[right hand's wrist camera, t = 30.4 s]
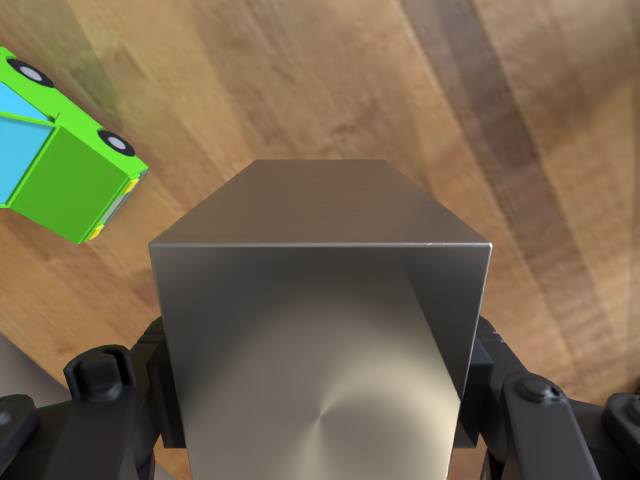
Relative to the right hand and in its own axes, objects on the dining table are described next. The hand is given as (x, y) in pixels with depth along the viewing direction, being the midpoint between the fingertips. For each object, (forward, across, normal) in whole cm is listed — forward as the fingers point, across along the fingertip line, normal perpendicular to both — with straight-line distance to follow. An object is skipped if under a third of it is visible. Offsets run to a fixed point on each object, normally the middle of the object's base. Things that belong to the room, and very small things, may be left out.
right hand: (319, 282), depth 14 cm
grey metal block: (+5, 0, 0) cm, 5 cm away
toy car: (+18, -22, +4) cm, 28 cm away
